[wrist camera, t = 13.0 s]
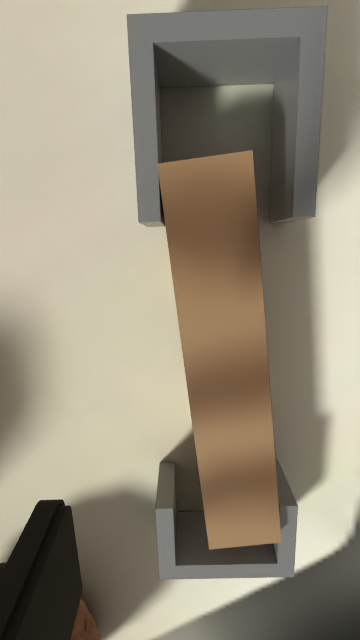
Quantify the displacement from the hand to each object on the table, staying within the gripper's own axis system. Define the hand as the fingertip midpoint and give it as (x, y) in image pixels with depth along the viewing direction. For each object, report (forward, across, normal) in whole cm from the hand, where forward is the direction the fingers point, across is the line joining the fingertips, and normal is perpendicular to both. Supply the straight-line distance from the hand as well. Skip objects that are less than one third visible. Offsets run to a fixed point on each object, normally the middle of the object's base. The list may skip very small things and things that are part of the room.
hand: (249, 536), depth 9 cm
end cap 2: (+12, -1, +10) cm, 16 cm away
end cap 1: (+13, -1, -12) cm, 18 cm away
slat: (+13, -1, -1) cm, 13 cm away
